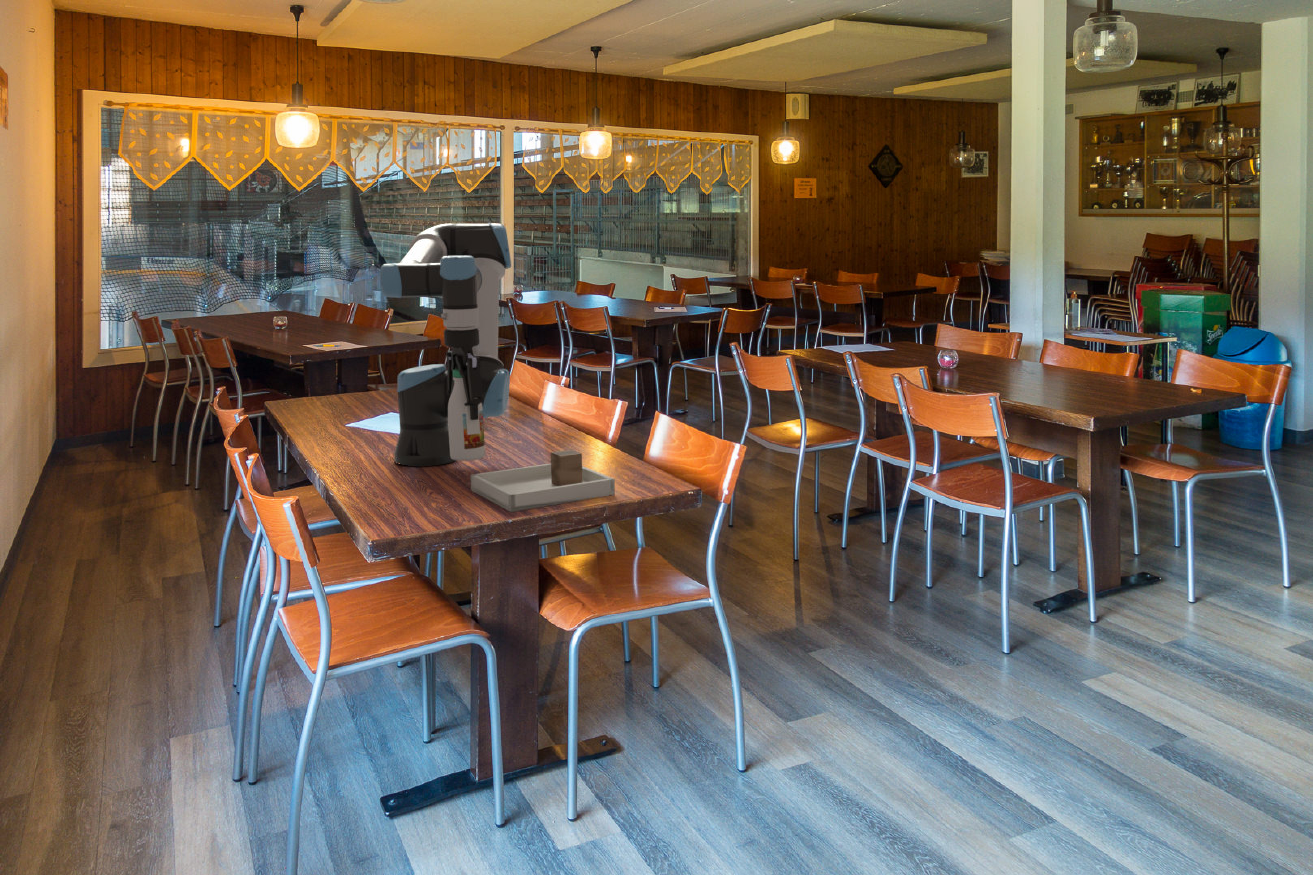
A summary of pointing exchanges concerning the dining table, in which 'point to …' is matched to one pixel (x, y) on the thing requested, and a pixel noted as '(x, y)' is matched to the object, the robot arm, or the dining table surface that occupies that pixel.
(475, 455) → the milk bottle
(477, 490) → the tray
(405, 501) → the dining table surface
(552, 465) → the walnut block
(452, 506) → the dining table surface
